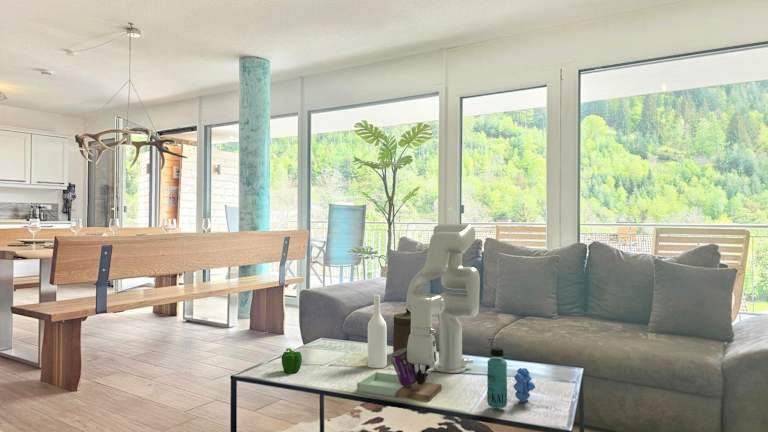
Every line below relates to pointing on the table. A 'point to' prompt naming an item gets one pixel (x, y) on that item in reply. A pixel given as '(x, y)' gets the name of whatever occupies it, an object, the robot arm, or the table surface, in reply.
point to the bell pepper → (291, 361)
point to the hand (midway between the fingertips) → (421, 383)
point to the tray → (380, 384)
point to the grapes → (523, 384)
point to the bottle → (377, 338)
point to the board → (420, 391)
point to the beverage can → (403, 367)
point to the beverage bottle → (497, 380)
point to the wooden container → (401, 330)
